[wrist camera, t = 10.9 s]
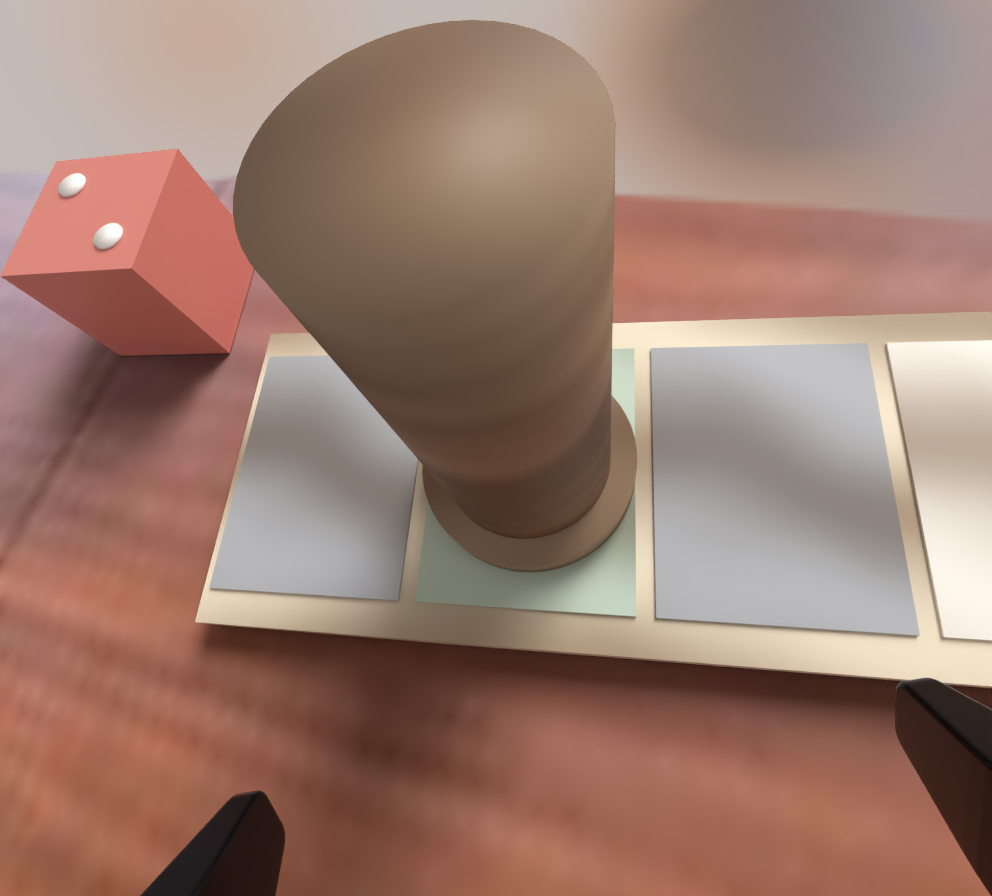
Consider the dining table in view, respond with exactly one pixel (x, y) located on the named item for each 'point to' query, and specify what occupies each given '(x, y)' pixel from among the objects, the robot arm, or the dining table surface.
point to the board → (660, 508)
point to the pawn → (460, 271)
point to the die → (135, 255)
